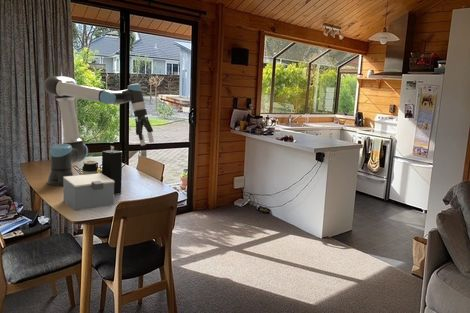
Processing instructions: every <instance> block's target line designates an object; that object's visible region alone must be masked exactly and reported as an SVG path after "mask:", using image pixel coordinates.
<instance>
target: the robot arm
mask: <svg viewBox="0 0 470 313" xmlns="http://www.w3.org/2000/svg"><path fill="white" fill-rule="evenodd" d="M43 88H44V90H45V92H46V93H47V94H49V95H50V96H55V100H56V101H57V102H58V103H59V109H60V115H61V121H62V122H61V123H62V127H63V133H64V141H63V142H62V143H58V144H57V143H56V144H54V145H52V146H51V147H50V153H49V154H50V172H49V175H48V178H47V184H48V185H51V186H55V187H58V186H60V187H62V186H63V179H64V178H63V177H66V176H75V175H74V173H73V171H72V170H73V167H72V166H73V165H72V164H74V163H77V162H78V163H79V162H81V161H82V162H83V160H84V161H85V159H86V158H87V157H88V154H89V149H88V146H87V145H86V144H85V143H84V140H83V139H82V138H81V137H80V131H79V125H78V119H77V112H76V106H75V99H77V98H79V99H82V100H86V101H87V100H89V101H92V102H93V101H94V102H97V103H98V102H99V103H102V104H105V105H122V104H126V103H131V107H132V111H133V115H134V117H135V119H134V120H135V134H136V136H137V137H138V139H139V144H140V146H141V147H142V146H146V141H145V137H144V134H143V129H144V128H145V130H146V133H147V137H148V138H147V139H148V142H149V144H151V143H154V142H155V140H154V135H153V132H154V130H153V127H152V125H151V123H150V120H149V117H148V116H147V115H148V112H147V109H146V103H145V100H144V95H143V90H142V87H141V84H140V83H133V84H129V85H127V89H123V90H108V89H102V88H97V87H92V86H86V85H81V84H78V83H77V81H76V80H75V79H73V78H72V77H69V76H59V75H58V76H55V75H54V76H53V75H51V76H48V77H47V78H46V79H45V80H44V82H43Z"/></svg>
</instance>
